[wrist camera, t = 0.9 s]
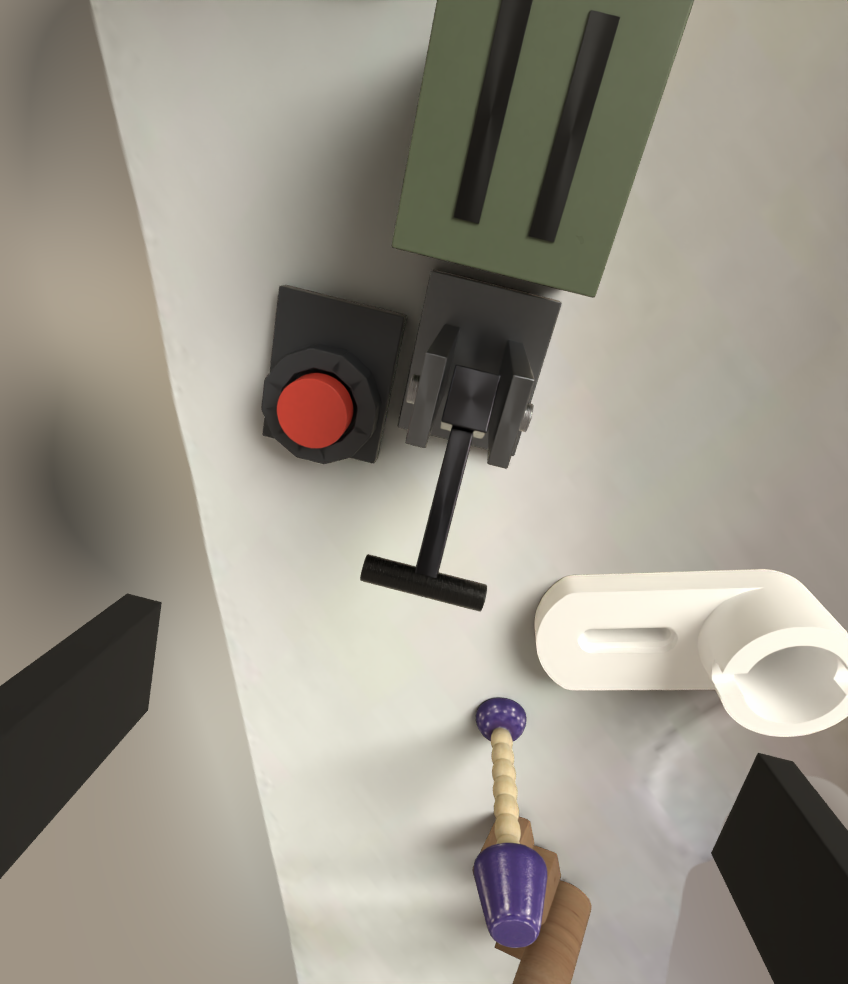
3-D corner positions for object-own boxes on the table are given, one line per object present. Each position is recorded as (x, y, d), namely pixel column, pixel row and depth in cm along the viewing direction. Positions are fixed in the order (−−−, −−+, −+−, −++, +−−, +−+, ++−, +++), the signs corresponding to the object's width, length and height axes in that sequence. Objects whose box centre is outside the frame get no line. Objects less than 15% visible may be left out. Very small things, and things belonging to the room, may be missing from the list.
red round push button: (290, 364, 35) (281, 370, 34) (358, 382, 35) (352, 388, 34) (282, 430, 37) (272, 438, 36) (347, 447, 37) (340, 456, 36)
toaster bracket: (513, 450, 39) (521, 528, 28) (400, 422, 39) (363, 488, 28) (559, 300, 35) (589, 324, 24) (433, 269, 35) (405, 278, 24)
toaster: (465, 23, 30) (450, -93, 20) (635, 65, 30) (708, -31, 20) (419, 249, 34) (387, 249, 24) (566, 286, 34) (596, 301, 24)
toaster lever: (478, 607, 29) (482, 616, 26) (363, 577, 29) (357, 583, 26) (531, 395, 29) (541, 385, 26) (417, 366, 29) (416, 353, 26)
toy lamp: (520, 689, 47) (533, 902, 31) (542, 729, 48) (565, 952, 33) (467, 705, 48) (455, 918, 33) (490, 744, 49) (489, 965, 34)
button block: (285, 284, 36) (268, 287, 33) (407, 314, 36) (399, 320, 33) (268, 432, 40) (251, 446, 37) (377, 460, 40) (368, 475, 37)
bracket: (824, 567, 39) (884, 625, 33) (805, 667, 43) (857, 737, 37) (532, 576, 42) (539, 631, 36) (535, 669, 46) (542, 734, 40)
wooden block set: (488, 789, 55) (438, 888, 47) (577, 816, 50) (538, 932, 42) (518, 916, 60) (477, 1024, 52) (600, 952, 56) (569, 1076, 48)
